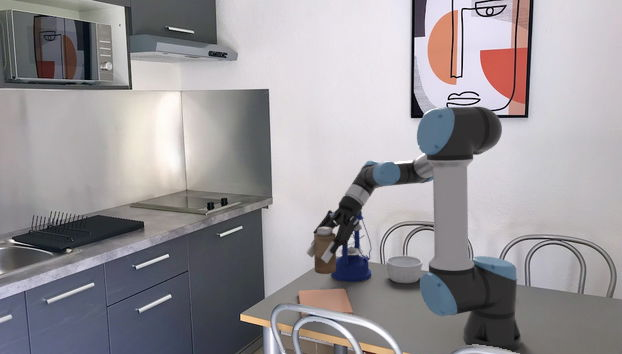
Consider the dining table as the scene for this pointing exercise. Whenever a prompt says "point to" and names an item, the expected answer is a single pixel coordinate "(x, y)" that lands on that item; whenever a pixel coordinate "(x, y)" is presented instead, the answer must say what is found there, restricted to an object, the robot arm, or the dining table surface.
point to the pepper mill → (320, 246)
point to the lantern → (353, 260)
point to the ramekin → (404, 268)
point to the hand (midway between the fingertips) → (316, 257)
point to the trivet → (326, 300)
